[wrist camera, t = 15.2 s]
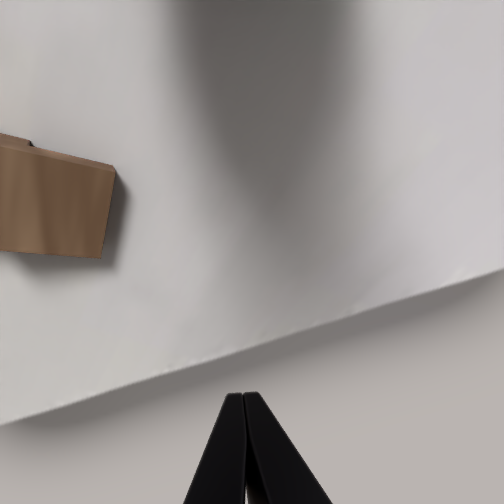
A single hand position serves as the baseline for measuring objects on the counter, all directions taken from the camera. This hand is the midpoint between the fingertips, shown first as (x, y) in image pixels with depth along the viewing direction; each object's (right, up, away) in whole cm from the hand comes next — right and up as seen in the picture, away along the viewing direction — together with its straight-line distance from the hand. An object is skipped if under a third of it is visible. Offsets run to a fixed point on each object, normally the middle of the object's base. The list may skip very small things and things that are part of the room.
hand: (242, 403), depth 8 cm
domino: (-8, +6, +9) cm, 13 cm away
